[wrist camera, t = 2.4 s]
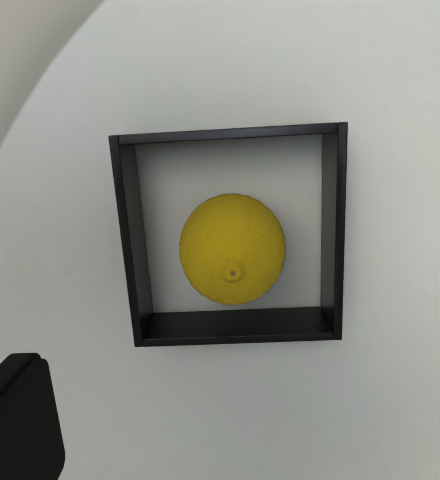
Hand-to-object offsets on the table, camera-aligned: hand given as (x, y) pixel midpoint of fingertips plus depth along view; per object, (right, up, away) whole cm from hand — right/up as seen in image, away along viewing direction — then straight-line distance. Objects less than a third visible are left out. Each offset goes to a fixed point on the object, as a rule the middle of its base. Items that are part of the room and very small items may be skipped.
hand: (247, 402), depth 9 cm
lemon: (0, +5, +16) cm, 17 cm away
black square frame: (0, +4, +16) cm, 17 cm away
